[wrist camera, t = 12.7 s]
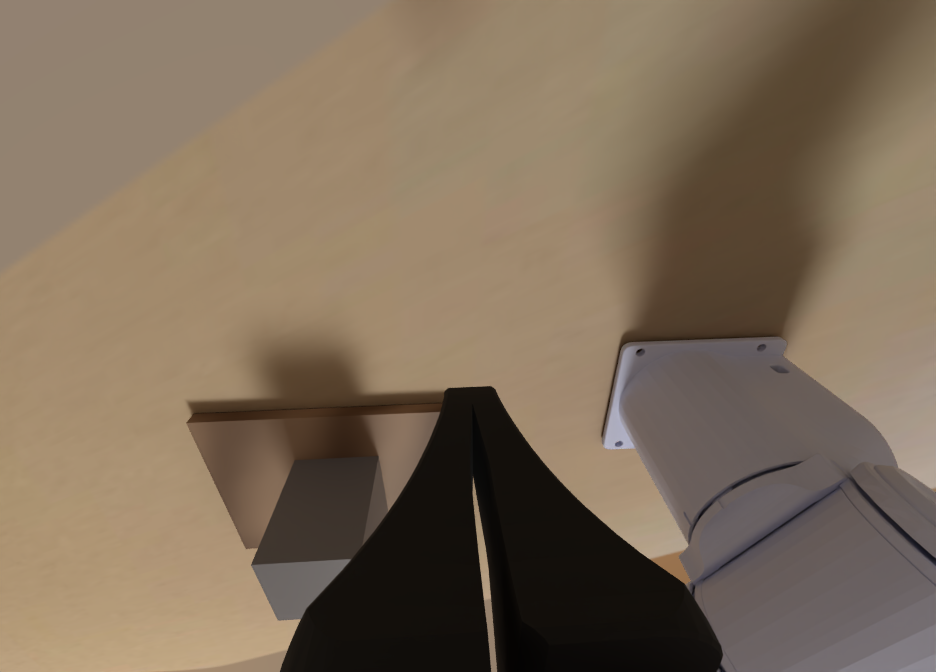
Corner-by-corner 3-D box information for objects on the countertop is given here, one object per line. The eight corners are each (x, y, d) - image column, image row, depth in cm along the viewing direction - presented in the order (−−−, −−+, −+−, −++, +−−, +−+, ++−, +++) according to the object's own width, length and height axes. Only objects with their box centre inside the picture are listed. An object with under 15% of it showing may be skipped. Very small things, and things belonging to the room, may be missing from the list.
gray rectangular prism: (378, 456, 25) (359, 558, 20) (388, 509, 28) (373, 614, 22) (294, 460, 25) (251, 564, 20) (311, 514, 28) (278, 620, 22)
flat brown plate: (463, 402, 25) (468, 479, 20) (466, 526, 31) (470, 609, 26) (193, 413, 24) (127, 496, 19) (250, 538, 30) (211, 625, 25)
